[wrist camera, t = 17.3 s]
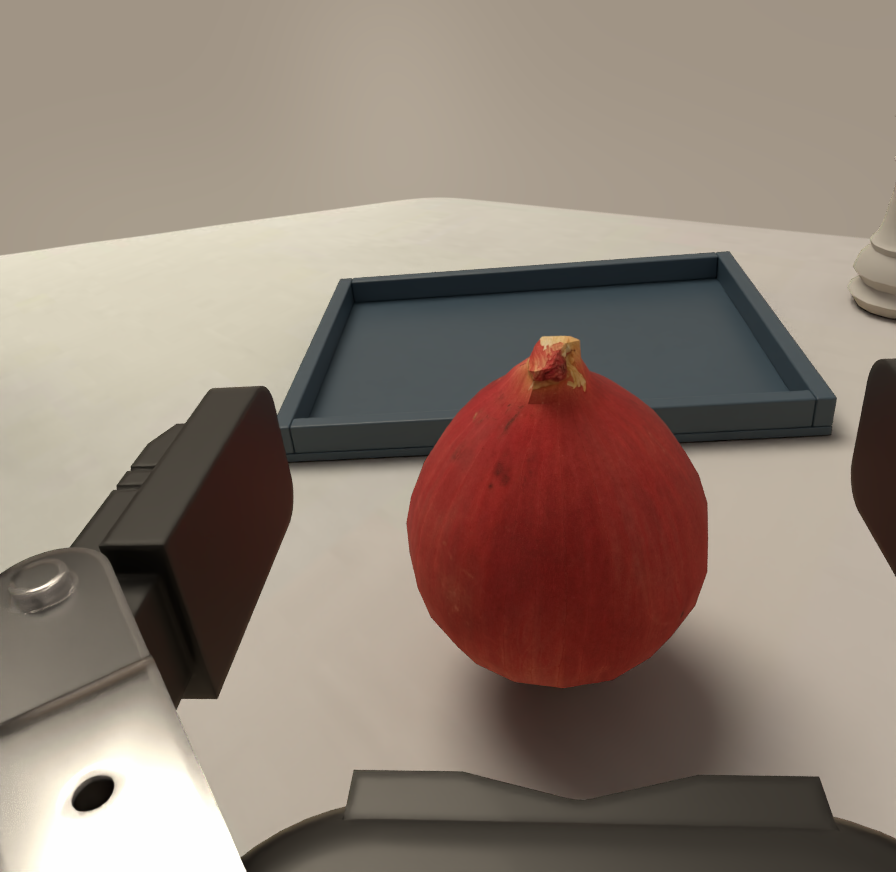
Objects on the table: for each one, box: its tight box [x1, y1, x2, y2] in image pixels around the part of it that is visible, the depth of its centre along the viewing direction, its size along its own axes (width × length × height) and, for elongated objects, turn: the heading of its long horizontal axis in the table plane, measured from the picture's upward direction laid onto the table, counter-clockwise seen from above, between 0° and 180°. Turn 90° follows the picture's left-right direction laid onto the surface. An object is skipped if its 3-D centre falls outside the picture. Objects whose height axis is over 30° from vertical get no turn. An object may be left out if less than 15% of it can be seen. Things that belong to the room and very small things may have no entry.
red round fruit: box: [407, 336, 708, 688], centre depth 16 cm, size 6×6×8 cm
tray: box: [277, 251, 837, 462], centre depth 31 cm, size 17×13×1 cm
